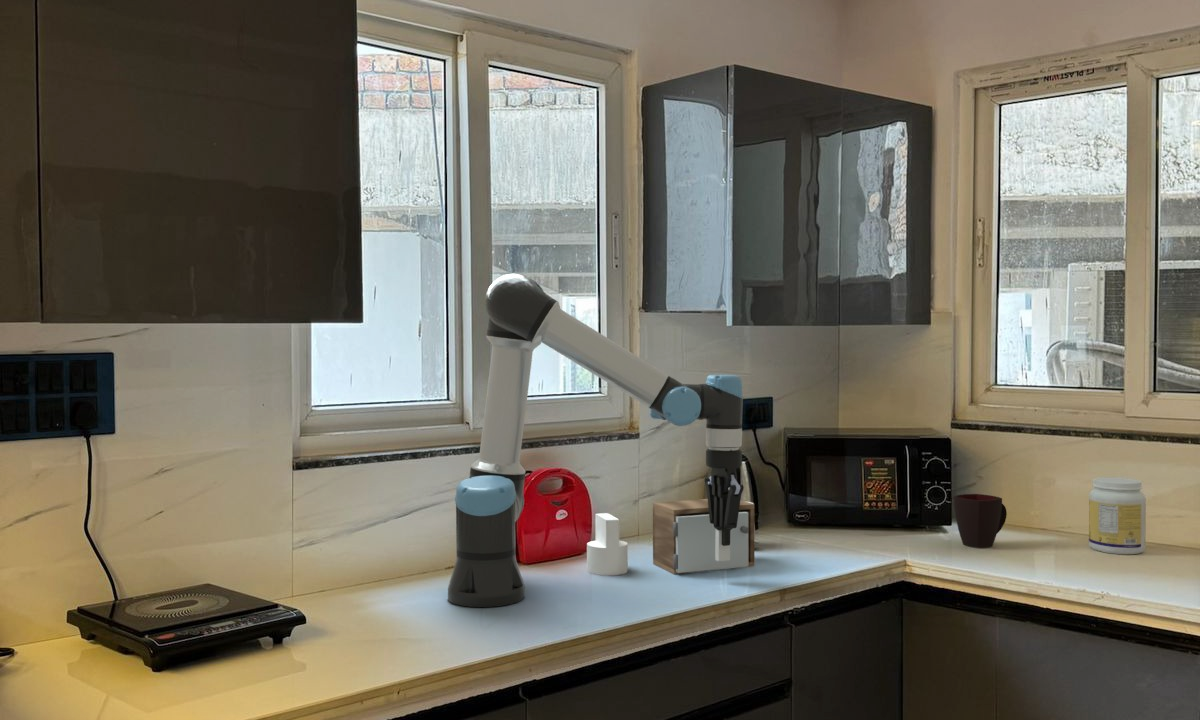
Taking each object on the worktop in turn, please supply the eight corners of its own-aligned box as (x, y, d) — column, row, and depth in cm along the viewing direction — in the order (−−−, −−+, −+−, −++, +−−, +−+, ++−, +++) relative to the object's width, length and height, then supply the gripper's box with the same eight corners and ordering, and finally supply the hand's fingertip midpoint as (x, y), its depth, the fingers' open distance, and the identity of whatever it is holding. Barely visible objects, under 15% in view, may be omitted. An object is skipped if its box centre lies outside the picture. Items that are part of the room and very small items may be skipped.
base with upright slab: (633, 573, 219) (632, 518, 219) (593, 576, 216) (593, 521, 216) (620, 565, 228) (620, 512, 227) (582, 567, 225) (582, 514, 225)
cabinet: (674, 574, 218) (673, 510, 218) (653, 563, 228) (652, 502, 228) (754, 566, 225) (754, 504, 225) (730, 556, 236) (730, 497, 235)
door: (677, 574, 215) (677, 518, 215) (672, 572, 218) (672, 516, 217) (751, 567, 221) (751, 513, 221) (745, 565, 224) (745, 511, 223)
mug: (947, 544, 249) (947, 495, 249) (987, 538, 255) (987, 491, 255) (979, 551, 240) (979, 501, 240) (1019, 545, 246) (1019, 497, 246)
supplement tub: (1098, 542, 250) (1098, 475, 249) (1152, 549, 241) (1152, 479, 241) (1081, 550, 241) (1081, 480, 241) (1136, 557, 232) (1136, 485, 232)
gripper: (755, 450, 206) (753, 565, 207) (724, 444, 218) (723, 552, 219) (723, 452, 203) (721, 567, 204) (693, 445, 215) (692, 555, 216)
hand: (722, 559), depth 211 cm, fingers closed
